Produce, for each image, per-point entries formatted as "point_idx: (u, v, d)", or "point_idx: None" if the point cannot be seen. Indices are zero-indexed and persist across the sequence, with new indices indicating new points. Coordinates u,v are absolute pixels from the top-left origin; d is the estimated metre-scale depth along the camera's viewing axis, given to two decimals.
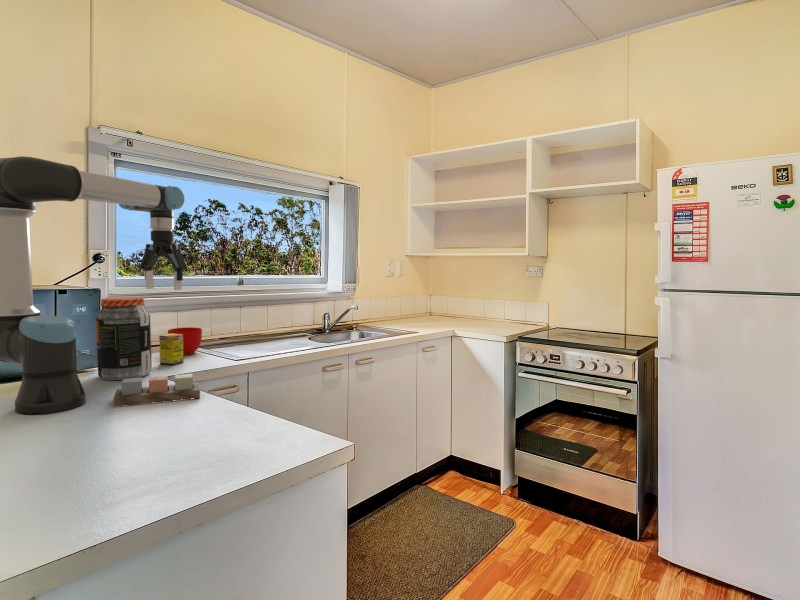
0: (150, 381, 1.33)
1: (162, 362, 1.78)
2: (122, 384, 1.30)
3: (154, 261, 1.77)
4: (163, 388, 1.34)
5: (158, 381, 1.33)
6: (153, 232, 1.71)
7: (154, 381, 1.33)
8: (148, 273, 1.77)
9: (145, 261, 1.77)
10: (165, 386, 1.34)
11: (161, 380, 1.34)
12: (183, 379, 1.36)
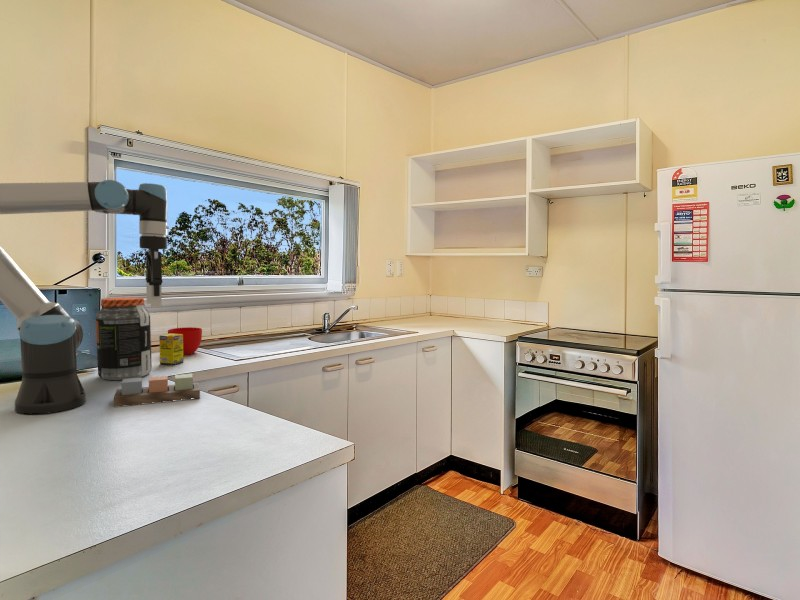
0: (150, 381, 1.33)
1: (162, 362, 1.78)
2: (122, 384, 1.30)
3: None
4: (163, 388, 1.34)
5: (158, 381, 1.33)
6: None
7: (154, 381, 1.33)
8: (148, 286, 1.54)
9: None
10: (165, 386, 1.34)
11: (161, 380, 1.34)
12: (183, 379, 1.36)
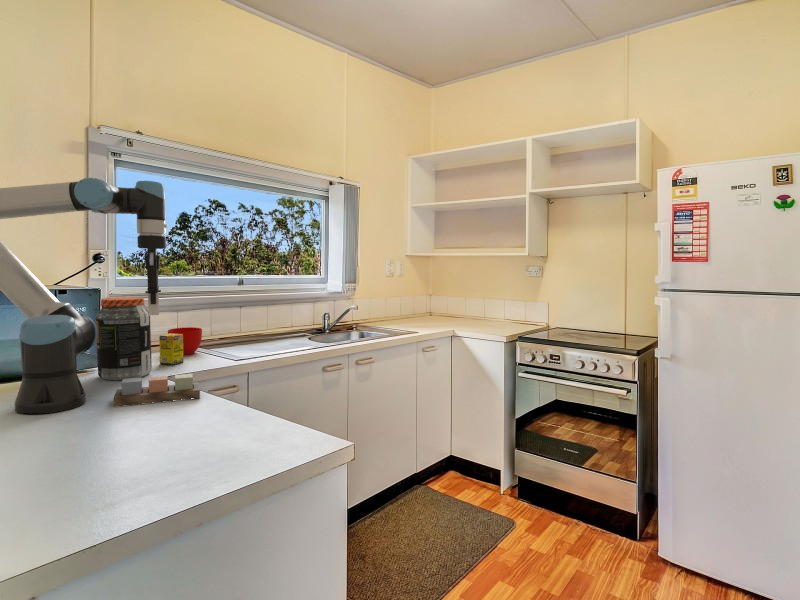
0: (150, 381, 1.33)
1: (162, 362, 1.78)
2: (122, 384, 1.30)
3: None
4: (163, 388, 1.34)
5: (158, 381, 1.33)
6: None
7: (154, 381, 1.33)
8: None
9: None
10: (165, 386, 1.34)
11: (161, 380, 1.34)
12: (183, 379, 1.36)
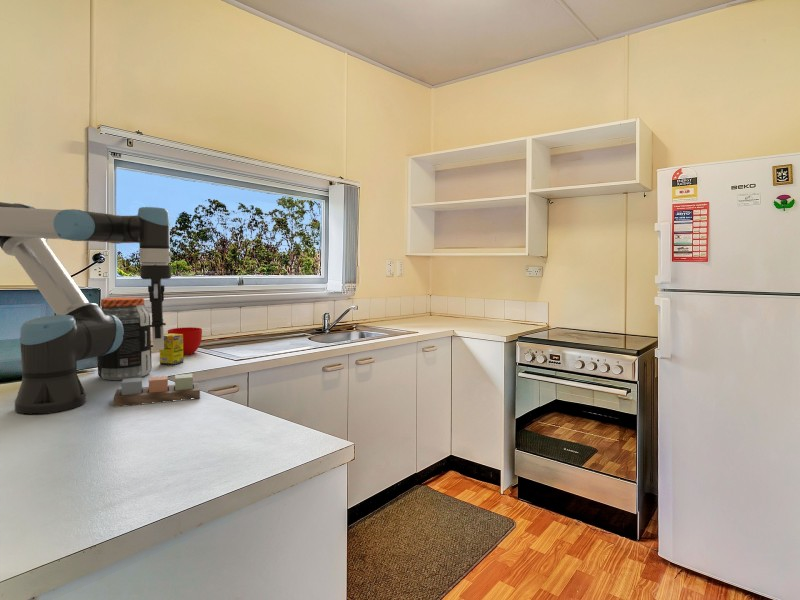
0: (150, 381, 1.33)
1: (162, 362, 1.78)
2: (122, 384, 1.30)
3: None
4: (163, 388, 1.34)
5: (158, 381, 1.33)
6: (140, 268, 1.32)
7: (154, 381, 1.33)
8: None
9: None
10: (165, 386, 1.34)
11: (161, 380, 1.34)
12: (183, 379, 1.36)
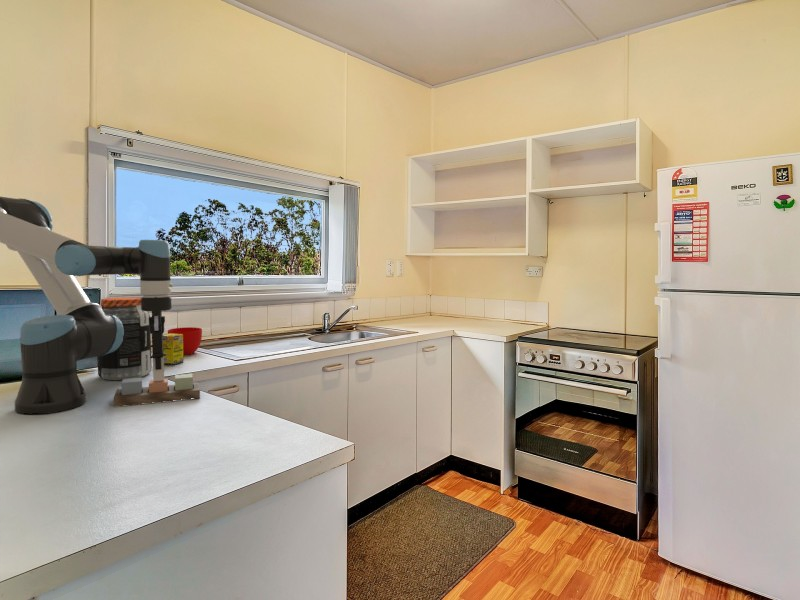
0: (150, 384, 1.33)
1: None
2: (122, 384, 1.30)
3: None
4: (163, 391, 1.34)
5: (158, 384, 1.34)
6: (141, 299, 1.32)
7: (154, 384, 1.33)
8: None
9: None
10: (165, 389, 1.34)
11: (161, 383, 1.34)
12: (183, 379, 1.36)
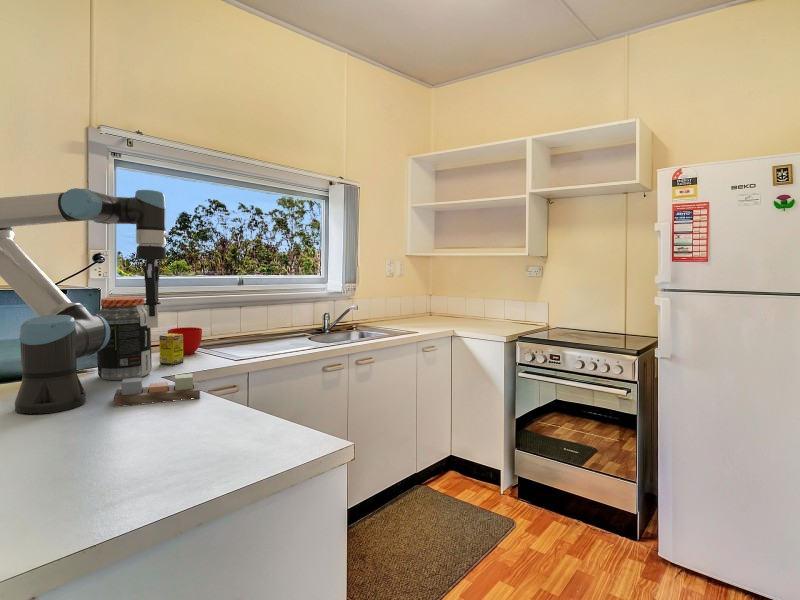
0: (150, 388, 1.33)
1: (162, 362, 1.78)
2: (122, 384, 1.30)
3: None
4: None
5: (158, 388, 1.34)
6: None
7: (154, 388, 1.33)
8: None
9: None
10: None
11: (161, 387, 1.34)
12: (183, 379, 1.36)
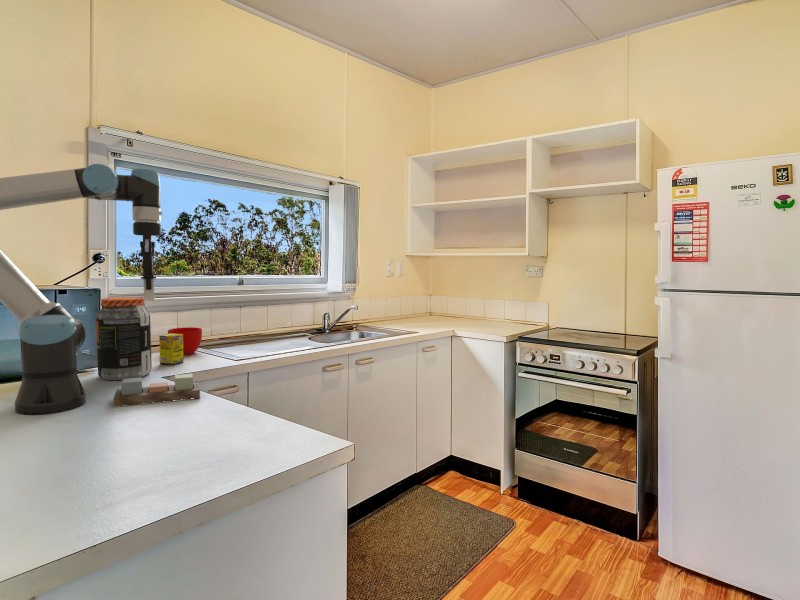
0: (150, 388, 1.33)
1: (162, 362, 1.78)
2: (122, 384, 1.30)
3: None
4: None
5: (158, 388, 1.34)
6: (133, 225, 1.44)
7: (154, 388, 1.33)
8: None
9: None
10: None
11: (161, 387, 1.34)
12: (183, 379, 1.36)
